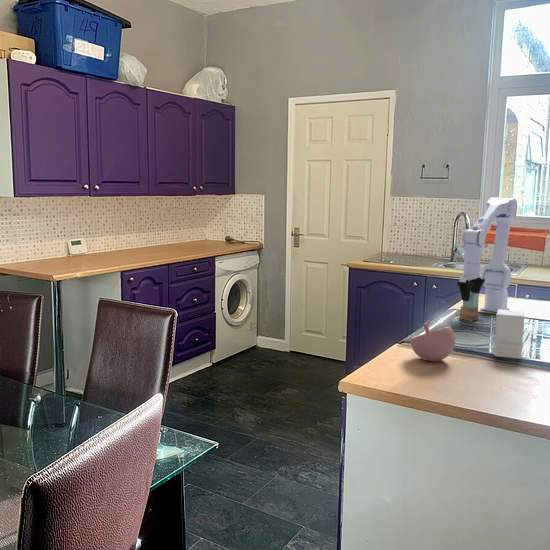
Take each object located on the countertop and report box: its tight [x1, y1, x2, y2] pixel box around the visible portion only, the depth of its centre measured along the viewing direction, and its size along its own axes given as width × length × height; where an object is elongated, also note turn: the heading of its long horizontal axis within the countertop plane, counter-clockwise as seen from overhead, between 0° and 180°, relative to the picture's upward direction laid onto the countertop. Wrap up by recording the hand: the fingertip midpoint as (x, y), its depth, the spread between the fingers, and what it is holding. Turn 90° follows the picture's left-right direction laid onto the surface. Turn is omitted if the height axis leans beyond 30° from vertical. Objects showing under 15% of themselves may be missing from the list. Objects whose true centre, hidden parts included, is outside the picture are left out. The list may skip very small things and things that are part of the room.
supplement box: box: [494, 309, 525, 360], centre depth 163 cm, size 7×7×13 cm
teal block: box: [462, 292, 480, 308], centre depth 206 cm, size 4×4×5 cm
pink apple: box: [409, 319, 456, 362], centre depth 157 cm, size 12×12×12 cm
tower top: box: [459, 305, 479, 315], centre depth 207 cm, size 5×5×2 cm
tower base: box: [458, 312, 480, 322], centre depth 207 cm, size 5×5×2 cm
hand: (470, 299), depth 206 cm, fingers open, 7 cm apart
